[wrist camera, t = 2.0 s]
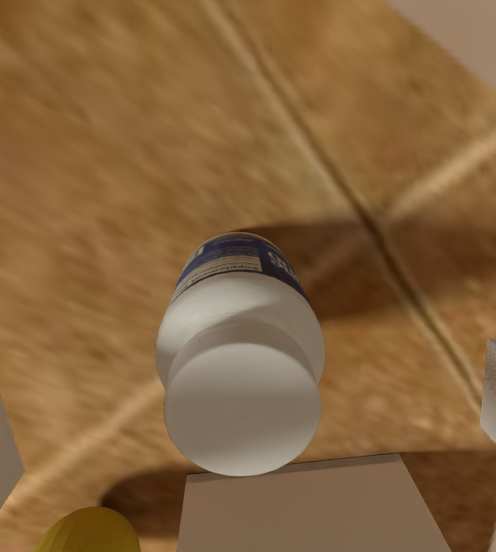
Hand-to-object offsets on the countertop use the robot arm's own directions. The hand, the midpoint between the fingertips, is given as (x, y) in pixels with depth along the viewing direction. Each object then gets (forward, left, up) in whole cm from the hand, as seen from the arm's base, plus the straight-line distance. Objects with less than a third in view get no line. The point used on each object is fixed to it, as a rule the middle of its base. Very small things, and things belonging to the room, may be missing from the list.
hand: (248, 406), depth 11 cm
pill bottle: (0, 0, -9) cm, 9 cm away
